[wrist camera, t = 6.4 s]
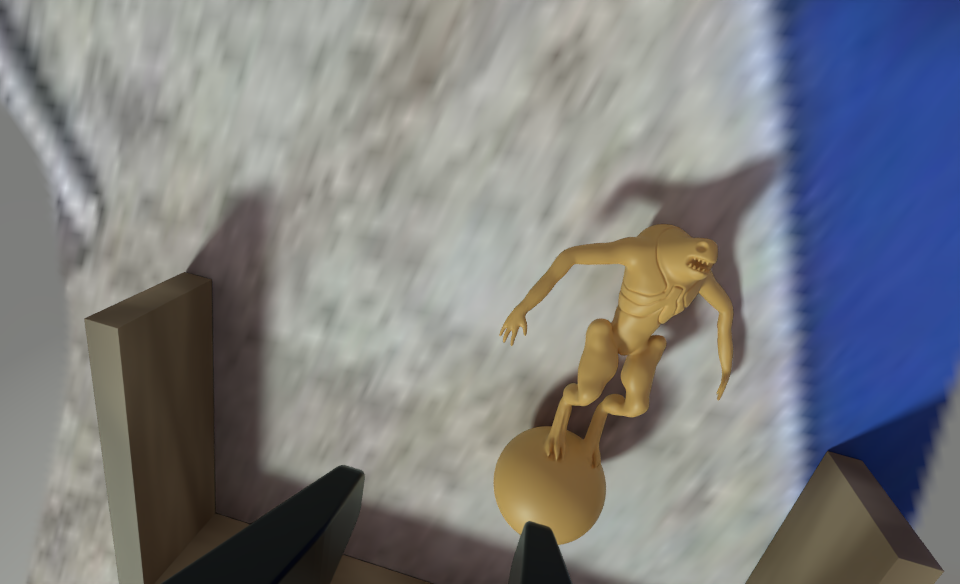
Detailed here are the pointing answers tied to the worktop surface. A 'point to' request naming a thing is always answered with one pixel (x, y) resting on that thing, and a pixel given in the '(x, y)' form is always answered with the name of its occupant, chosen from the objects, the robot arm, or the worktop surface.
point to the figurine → (605, 373)
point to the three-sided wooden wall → (198, 529)
